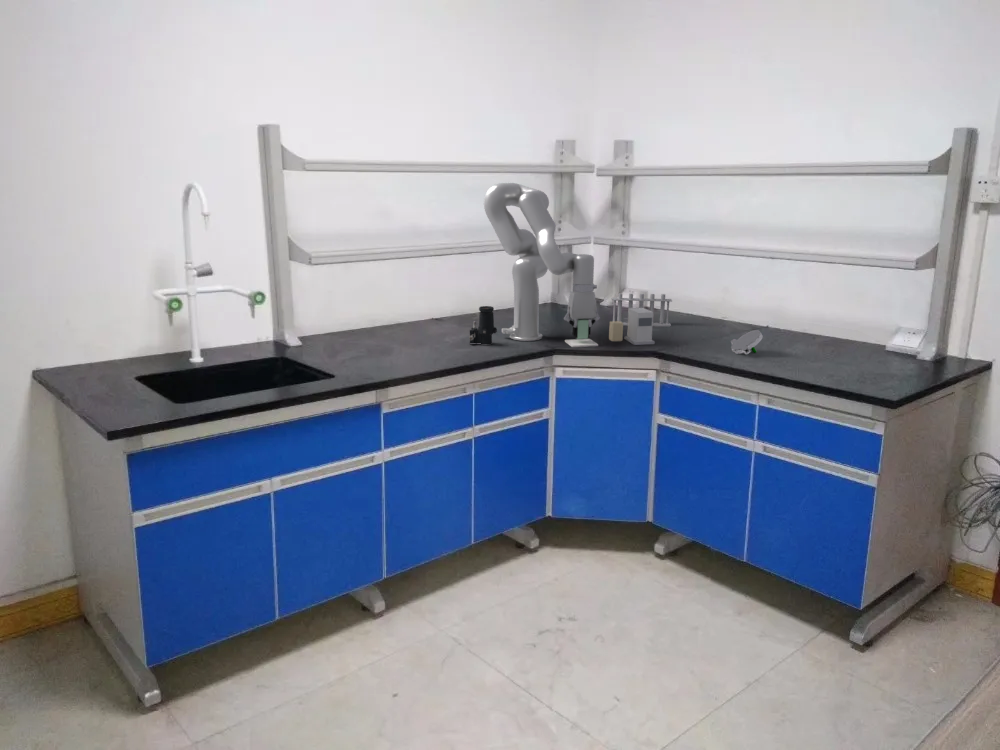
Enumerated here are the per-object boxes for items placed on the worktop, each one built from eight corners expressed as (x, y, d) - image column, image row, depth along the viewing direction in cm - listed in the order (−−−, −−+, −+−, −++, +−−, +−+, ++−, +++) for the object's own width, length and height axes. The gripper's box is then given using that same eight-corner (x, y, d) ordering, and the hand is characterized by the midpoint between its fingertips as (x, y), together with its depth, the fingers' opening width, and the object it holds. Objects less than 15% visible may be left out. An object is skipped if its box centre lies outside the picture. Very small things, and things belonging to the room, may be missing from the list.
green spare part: (577, 339, 287) (578, 320, 286) (574, 336, 291) (575, 318, 289) (587, 338, 288) (588, 320, 286) (584, 336, 292) (585, 318, 290)
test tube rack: (610, 325, 326) (611, 294, 322) (610, 323, 330) (611, 292, 327) (670, 326, 323) (672, 295, 320) (669, 324, 327) (671, 293, 324)
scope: (472, 304, 291) (498, 305, 289) (472, 340, 295) (498, 341, 293) (468, 308, 283) (494, 309, 282) (468, 345, 287) (494, 346, 285)
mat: (572, 347, 284) (572, 345, 284) (564, 341, 294) (564, 339, 294) (598, 346, 286) (598, 344, 286) (589, 340, 296) (589, 338, 296)
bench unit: (634, 344, 289) (635, 313, 285) (624, 338, 299) (625, 308, 296) (654, 344, 290) (656, 312, 287) (643, 337, 300) (645, 307, 297)
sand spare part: (612, 341, 295) (613, 323, 293) (608, 339, 298) (609, 321, 297) (622, 341, 295) (623, 323, 293) (618, 338, 299) (619, 321, 297)
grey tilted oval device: (724, 346, 284) (742, 320, 281) (741, 357, 285) (760, 331, 283) (737, 355, 269) (757, 328, 267) (756, 367, 270) (775, 340, 268)
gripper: (601, 286, 290) (599, 334, 295) (558, 287, 287) (557, 335, 291) (607, 289, 283) (605, 338, 288) (563, 290, 280) (562, 340, 284)
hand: (581, 336), depth 289 cm, fingers closed on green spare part, 3 cm apart
